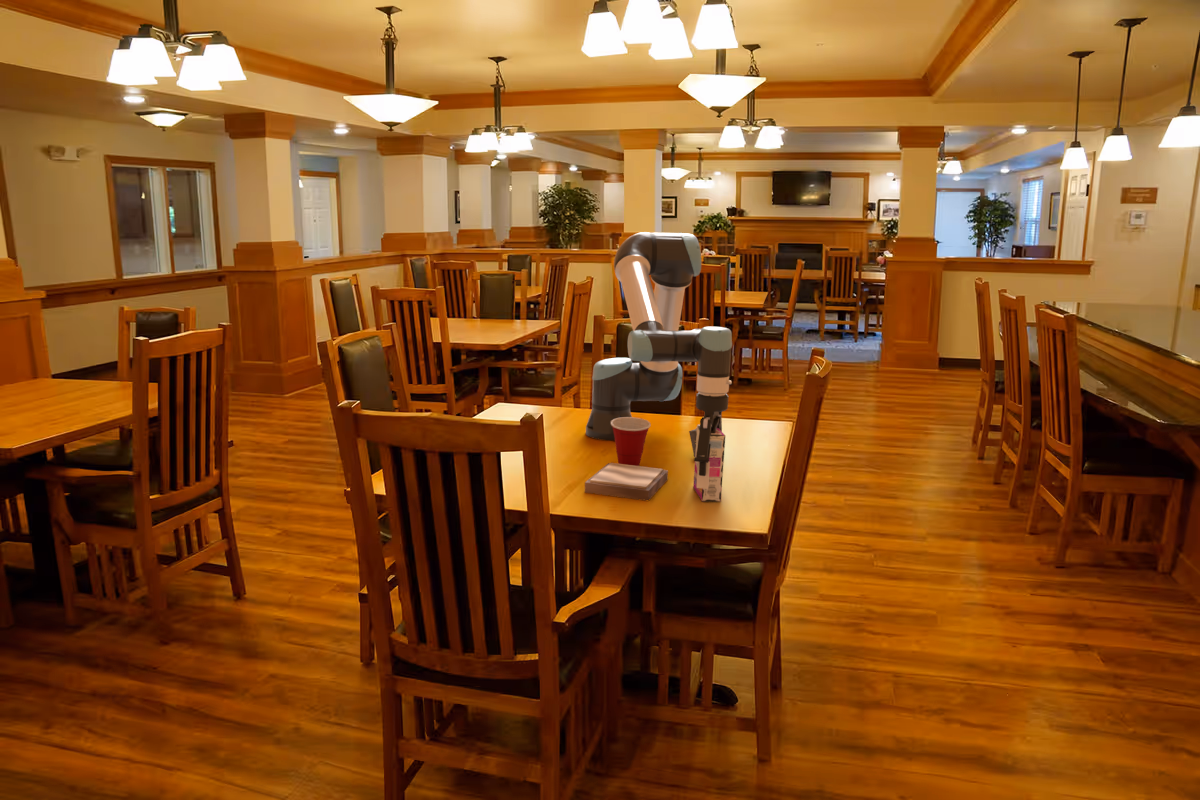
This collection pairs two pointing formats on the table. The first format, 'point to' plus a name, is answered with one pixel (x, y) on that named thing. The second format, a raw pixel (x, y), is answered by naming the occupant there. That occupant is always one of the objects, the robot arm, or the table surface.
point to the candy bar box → (712, 467)
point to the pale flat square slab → (627, 481)
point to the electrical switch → (693, 439)
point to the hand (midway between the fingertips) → (707, 480)
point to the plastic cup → (630, 439)
